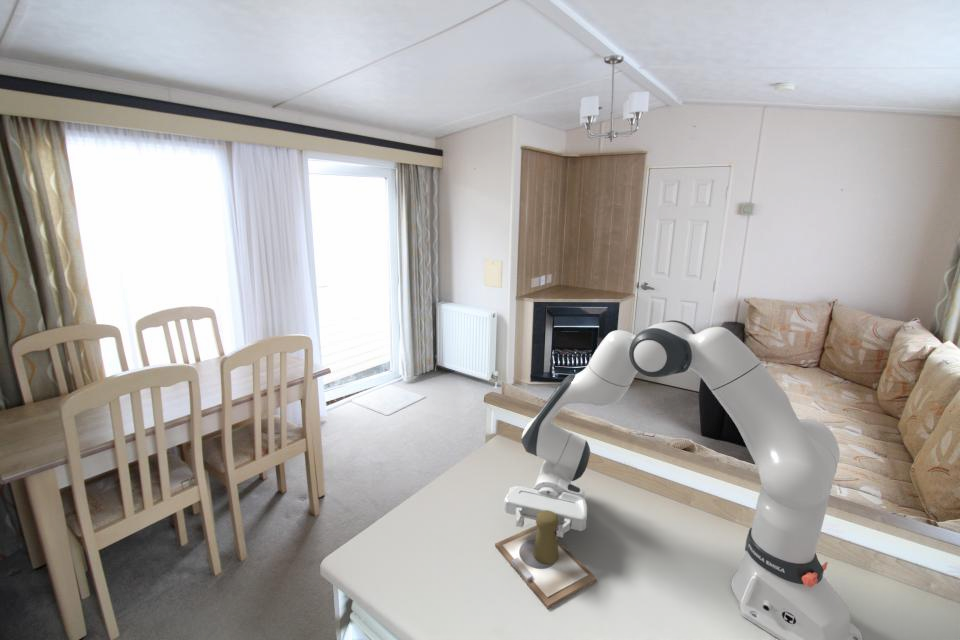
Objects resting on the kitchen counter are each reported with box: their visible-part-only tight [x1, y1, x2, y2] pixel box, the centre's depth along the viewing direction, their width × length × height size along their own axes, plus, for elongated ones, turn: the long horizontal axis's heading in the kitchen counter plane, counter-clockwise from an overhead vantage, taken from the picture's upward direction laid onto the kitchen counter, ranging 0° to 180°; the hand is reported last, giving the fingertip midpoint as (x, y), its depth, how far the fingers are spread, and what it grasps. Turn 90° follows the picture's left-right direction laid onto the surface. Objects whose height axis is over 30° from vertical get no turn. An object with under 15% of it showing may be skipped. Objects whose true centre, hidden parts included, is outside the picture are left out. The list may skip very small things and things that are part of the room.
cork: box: [533, 510, 559, 565], centre depth 104 cm, size 6×6×11 cm
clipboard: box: [494, 524, 598, 609], centre depth 105 cm, size 20×14×2 cm
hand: (539, 529), depth 104 cm, fingers open, 8 cm apart
